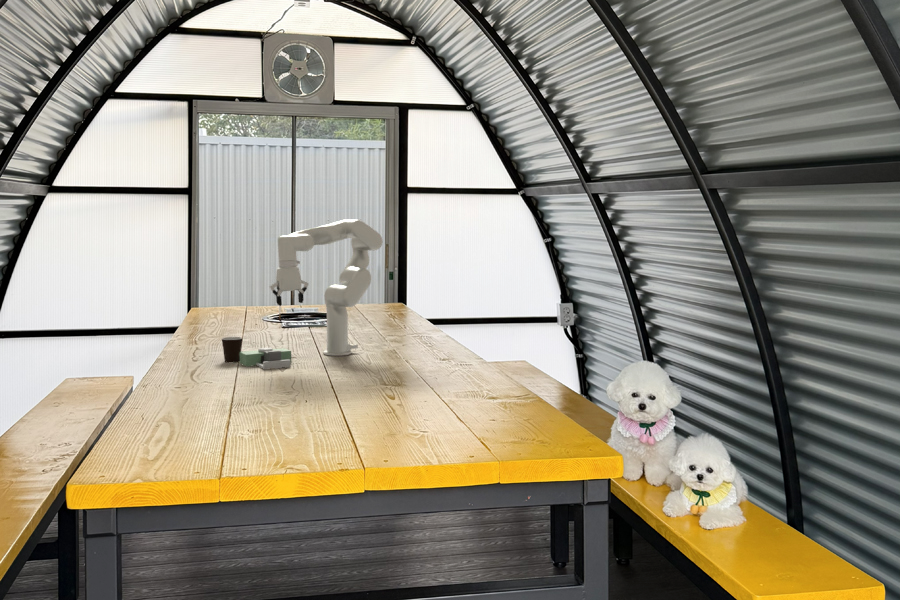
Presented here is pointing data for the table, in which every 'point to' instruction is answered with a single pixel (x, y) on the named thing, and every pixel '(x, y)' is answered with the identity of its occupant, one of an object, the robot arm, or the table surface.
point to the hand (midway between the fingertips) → (290, 303)
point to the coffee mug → (232, 348)
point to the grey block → (272, 355)
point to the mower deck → (258, 358)
